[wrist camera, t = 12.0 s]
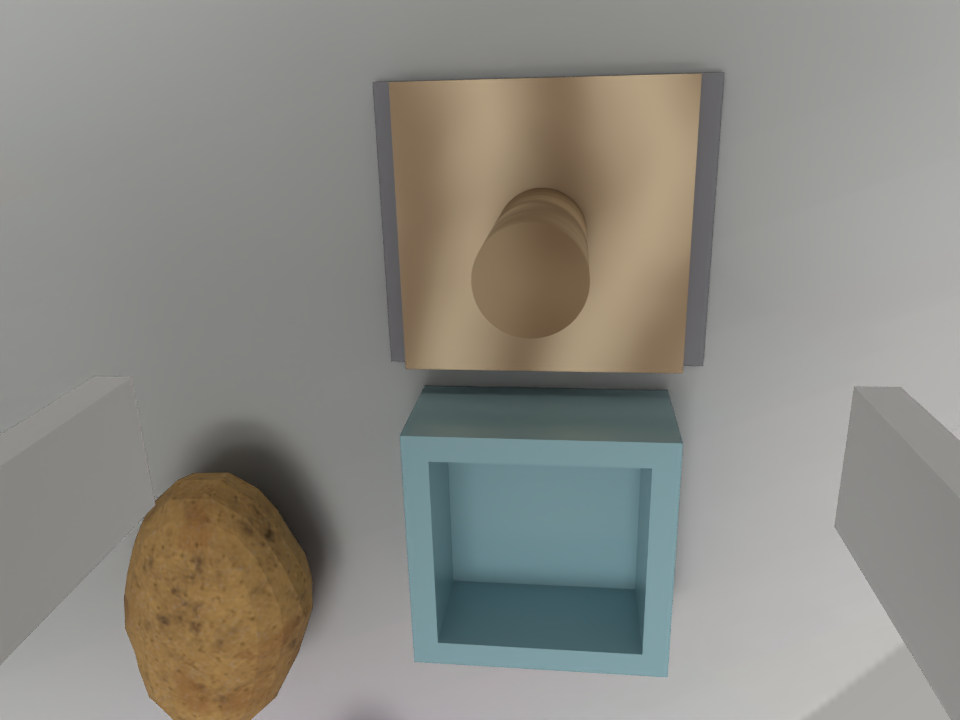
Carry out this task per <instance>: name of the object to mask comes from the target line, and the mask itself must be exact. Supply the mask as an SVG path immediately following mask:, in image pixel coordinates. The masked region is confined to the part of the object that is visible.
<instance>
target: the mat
mask: <svg viewBox="0 0 960 720" xmlns="http://www.w3.org/2000/svg"><path fill="white" fill-rule="evenodd" d="M687 74H699V73H687ZM651 75H662V74H651ZM615 76H626V75H615ZM578 77H589V76H578ZM542 78H553V77H542ZM506 79H517V78H506ZM470 80H480V79H470ZM433 81H444V80H433ZM397 82H407V81H397ZM723 86H724V72H723V73H702V80H701V96H700V112H699V127H698V143H697V158H696V174H695V190H694V205H693V221H692V236H691V252H690V268H689V283H688V299H687V315H686V330H685V346H684V361H683V366H703V361H704V347H705V333H706V319H707V306H708V292H709V278H710V265H711V251H712V237H713V223H714V210H715V196H716V182H717V168H718V155H719V141H720V127H721V114H722V100H723ZM373 94H374V109H375V124H376V139H377V154H378V169H379V184H380V199H381V214H382V229H383V244H384V259H385V274H386V289H387V304H388V319H389V334H390V349H391V361H404V362H405V346H404V329H403V313H402V296H401V279H400V263H399V246H398V229H397V213H396V196H395V180H394V163H393V146H392V130H391V113H390V96H389V82H373Z"/></svg>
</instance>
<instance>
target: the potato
mask: <svg viewBox="0 0 960 720" xmlns="http://www.w3.org/2000/svg"><path fill="white" fill-rule="evenodd" d="M124 607H125V629H126V631H127V634H128V636H129V639H130V641H131V644H132V647H133V649H134V652H135V654H136V659H137V663H138V667H139V671H140V673H141V676H142V679H143V681H144V684H145V687H146V690H147V692H148V695H149V697H150V698H151V699H152V700H153V701H154V702H155V703H157V704H158V705H159V706H160V707H161V708H162V709H163V710H164V711H165V712H166V713H167V714H168V715H169V716H170V717H171V718H172V719H173V720H251V719H252V718H253V717H254V716H255V715H256V714H258V713H259V712H260V711H261V710H262V709H263V708H264V707H265V706H266V705H268V704H269V703H270V702H271V701H272V700H273V699H274V698H275V697H276V696H277V694H278V692H279V690H280V688H281V686H282V684H283V682H284V680H285V678H286V676H287V674H288V672H289V670H290V668H291V666H292V664H293V662H294V660H295V658H296V656H297V654H298V652H299V650H300V646H301V643H302V640H303V637H304V634H305V630H306V627H307V624H308V621H309V617H310V614H311V611H312V607H313V599H312V575H311V571H310V568H309V564H308V561H307V558H306V554H305V553H304V551H303V550H302V548H301V547H300V545H299V544H298V542H297V541H296V539H295V538H294V536H293V535H292V533H291V531H290V530H289V528H288V526H287V525H286V523H285V522H284V520H283V518H282V517H281V515H280V513H279V512H278V510H277V509H276V508H275V507H274V506H273V504H272V503H271V502H270V501H269V500H268V499H267V498H266V497H265V496H264V494H263V493H262V492H261V491H260V490H259V489H258V488H256V487H254V486H252V485H251V484H249V483H247V482H245V481H243V480H242V479H240V478H238V477H236V476H234V475H232V474H231V473H193V474H190V475H188V476H186V477H184V478H182V479H179V480H178V481H176V482H175V483H174V484H173V485H172V486H171V487H170V488H169V489H168V490H167V491H166V492H164V493H163V494H162V495H161V496H160V497H159V498H158V499H157V500H156V501H155V506H154V507H153V508H152V509H151V510H150V511H149V512H148V513H147V514H146V515H145V518H144V520H143V522H142V525H141V527H140V529H139V532H138V534H137V537H136V540H135V544H134V547H133V550H132V555H131V559H130V564H129V569H128V573H127V580H126V588H125V595H124Z"/></svg>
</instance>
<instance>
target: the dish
mask: <svg viewBox="0 0 960 720" xmlns="http://www.w3.org/2000/svg"><path fill="white" fill-rule="evenodd" d="M400 448H401V463H402V478H403V494H404V509H405V525H406V540H407V555H408V571H409V586H410V602H411V617H412V632H413V648H414V662H425V663H441V664H458V665H474V666H491V667H507V668H523V669H540V670H556V671H573V672H589V673H605V674H622V675H638V676H654V677H668V662H669V647H670V632H671V617H672V602H673V587H674V572H675V557H676V542H677V526H678V511H679V496H680V481H681V466H682V451H683V442H682V438H681V435H680V432H679V428H678V425H677V421H676V418H675V414H674V411H673V407H672V404H671V401H670V397H669V394H668V390H622V389H568V388H515V387H462V386H425V387H424V389H423V391H422V393H421V395H420V397H419V399H418V401H417V403H416V405H415V407H414V409H413V411H412V413H411V415H410V417H409V418H408V420H407V422H406V424H405V426H404V428H403V430H402V432H401V434H400Z"/></svg>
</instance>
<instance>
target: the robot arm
mask: <svg viewBox="0 0 960 720" xmlns="http://www.w3.org/2000/svg"><path fill="white" fill-rule="evenodd" d="M154 506H155V500H154V494H153V489H152V483H151V478H150V473H149V467H148V462H147V456H146V451H145V445H144V440H143V434H142V429H141V423H140V418H139V413H138V407H137V402H136V396H135V391H134V385H133V380H132V377H103V376H94V377H92V378H91V379H89V380H87V381H86V382H84V383H83V384H81V385H79V386H78V387H76V388H74V389H73V390H71V391H70V392H68V393H66V394H65V395H63V396H62V397H60V398H58V399H57V400H55V401H54V402H52V403H50V404H49V405H47V406H46V407H44V408H42V409H41V410H39V411H38V412H36V413H34V414H33V415H31V416H30V417H28V418H26V419H25V420H23V421H22V422H20V423H18V424H17V425H15V426H14V427H12V428H10V429H9V430H7V431H6V432H4V433H2V434H1V435H0V665H1V664H2V663H3V661H4V660H5V659H6V658H7V657H8V656H9V655H10V654H11V653H12V652H13V651H14V650H15V649H16V648H17V647H18V646H19V645H20V644H21V643H22V642H23V641H24V640H25V639H26V638H27V637H28V636H29V635H30V634H31V633H32V632H33V631H34V630H35V629H36V628H37V626H38V625H39V624H40V623H41V622H42V621H43V620H44V619H45V618H46V617H47V616H48V615H49V614H50V613H51V612H52V611H53V610H54V609H55V608H56V607H57V606H58V605H59V604H60V603H61V602H62V601H63V600H64V599H65V598H66V597H67V596H68V595H69V594H70V593H71V591H72V590H73V589H74V588H75V587H76V586H77V585H78V584H79V583H80V582H81V581H82V580H83V579H84V578H85V577H86V576H87V575H88V574H89V573H90V572H91V571H92V570H93V569H94V568H95V567H96V566H97V565H98V564H99V563H100V562H101V561H102V560H103V559H104V558H105V556H106V555H107V554H108V553H109V552H110V551H111V550H112V549H113V548H114V547H115V546H116V545H117V544H118V543H119V542H120V541H121V540H122V539H123V538H124V537H125V536H126V535H127V534H128V533H129V532H130V531H131V530H132V529H133V528H134V527H135V526H136V525H137V524H138V522H139V521H140V520H141V519H142V518H143V517H144V516H145V515H146V514H147V513H148V512H149V511H150V510H151V509H152V508H153V507H154ZM835 528H836V530H837V531H838V533H839V535H840V536H841V538H842V540H843V541H844V543H845V545H846V546H847V548H848V550H849V551H850V553H851V555H852V556H853V558H854V560H855V561H856V563H857V565H858V566H859V568H860V570H861V571H862V573H863V575H864V576H865V578H866V580H867V581H868V583H869V585H870V586H871V588H872V590H873V591H874V593H875V595H876V596H877V598H878V599H879V601H880V603H881V604H882V606H883V608H884V609H885V611H886V613H887V614H888V616H889V618H890V619H891V621H892V623H893V624H894V626H895V628H896V629H897V631H898V633H899V634H900V636H901V638H902V639H903V641H904V643H905V644H906V646H907V648H908V649H909V651H910V653H911V654H912V656H913V657H914V659H915V661H916V663H917V664H918V666H919V667H920V669H921V671H922V673H923V674H924V676H925V677H926V679H927V681H928V682H929V684H930V686H931V687H932V689H933V691H934V692H935V694H936V696H937V697H938V699H939V701H940V702H941V704H942V706H943V707H944V709H945V710H946V712H947V714H948V715H949V717H950V719H951V720H960V441H959V440H958V439H957V438H956V437H955V436H954V435H953V434H952V433H951V432H950V431H948V430H947V429H946V428H945V427H944V426H943V425H942V424H941V423H940V422H939V421H938V420H936V419H935V418H934V417H933V416H932V415H931V414H930V413H929V412H928V411H927V410H925V409H924V408H923V407H922V406H921V405H920V404H919V403H918V402H917V401H916V400H915V399H913V398H912V397H911V396H910V395H909V394H908V393H907V392H906V391H905V390H904V389H902V388H901V387H855V386H854V391H853V399H852V406H851V413H850V420H849V427H848V434H847V441H846V448H845V455H844V462H843V469H842V476H841V483H840V490H839V497H838V505H837V512H836V519H835Z"/></svg>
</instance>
